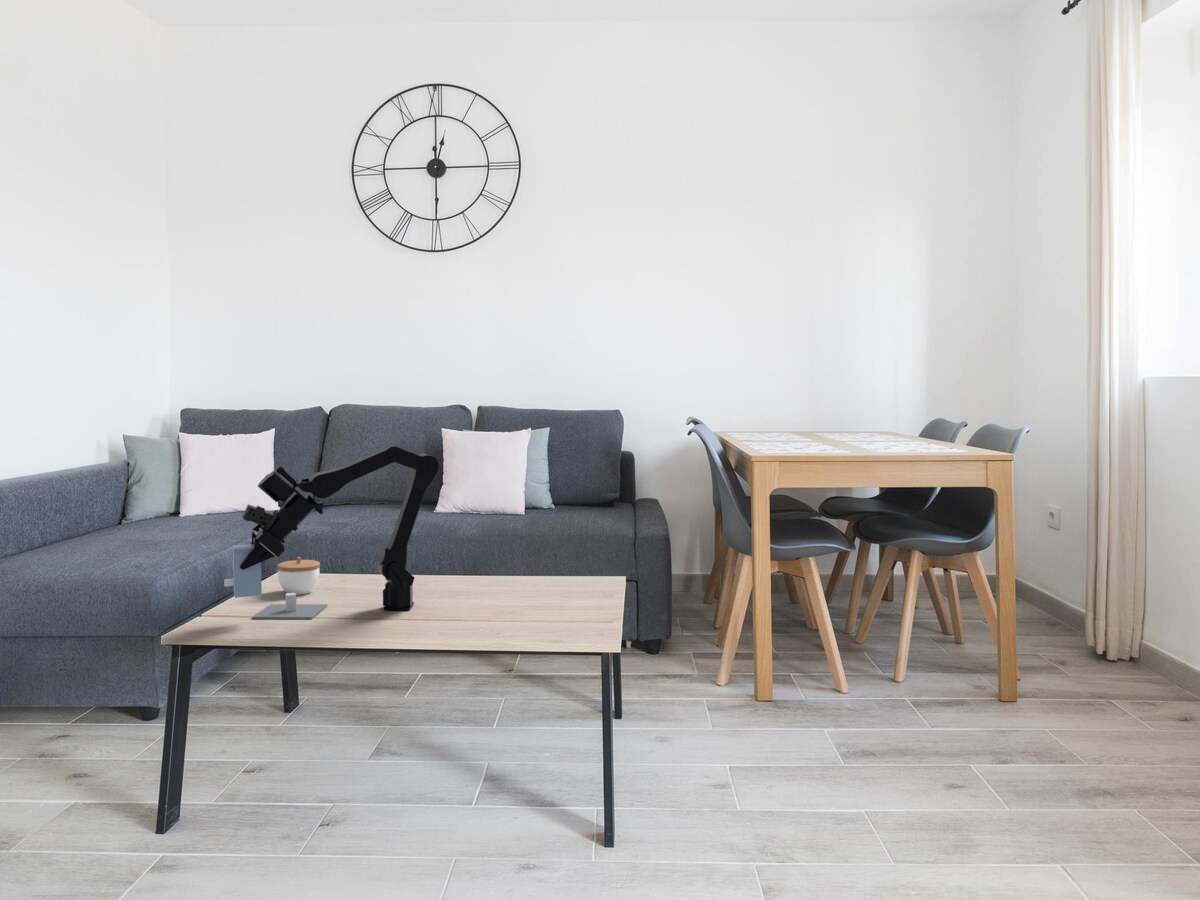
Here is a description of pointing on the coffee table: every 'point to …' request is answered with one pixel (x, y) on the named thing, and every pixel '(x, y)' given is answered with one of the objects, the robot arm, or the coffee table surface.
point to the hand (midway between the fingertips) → (240, 566)
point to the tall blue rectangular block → (244, 574)
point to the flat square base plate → (290, 610)
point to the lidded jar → (298, 575)
